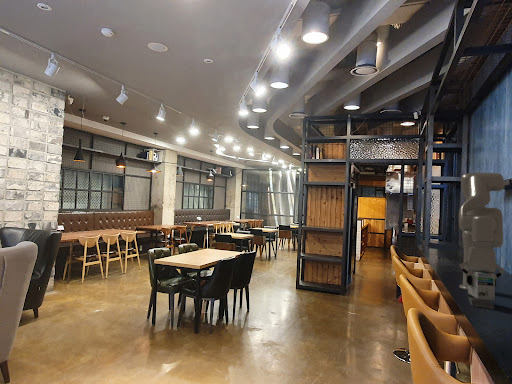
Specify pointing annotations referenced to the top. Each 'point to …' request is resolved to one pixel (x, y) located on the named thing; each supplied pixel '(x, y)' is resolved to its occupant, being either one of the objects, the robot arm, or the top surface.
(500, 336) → the top surface
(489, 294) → the light bulb box
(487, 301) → the tray
